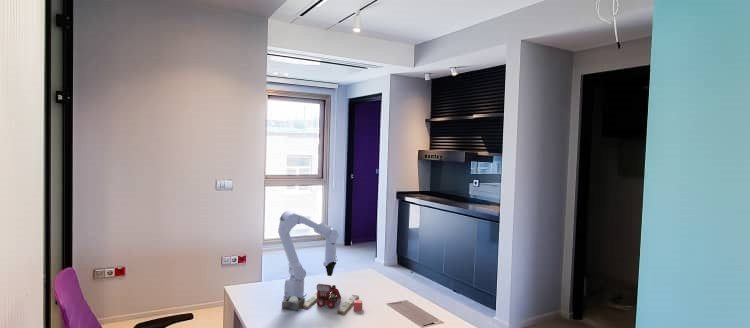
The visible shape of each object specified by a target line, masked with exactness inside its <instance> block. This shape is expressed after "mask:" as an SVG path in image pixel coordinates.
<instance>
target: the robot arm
mask: <svg viewBox="0 0 750 328" xmlns="http://www.w3.org/2000/svg"><path fill="white" fill-rule="evenodd" d="M301 224H303V225H305V226H307V227H309V228H312V229H313V231H314V233H316V234H319V235H320V236H323V237H325V249H324V250H325V253H324V260H323V266H324V267H325V270H326V274H327V275H326V276H327V277H328V276H329V277H332V276H333V273H334V269H335V266H336V265H337V262H338V260H339V259H338V258H337V257H338V255H337V240H338V238H339V236H340V235H339V232H338V230H336V229H335V228H332V226H331V225H326V224H325V222H323V221H321V222H320V221H318V222H315V221H314V220H313V221H312V220H311V219H309V218H307V217H305V216H303V215H301V214H299V213H295V212H292V211H290V210H286V211H284V212H283V213H281V216H280V217H279V225H278V231H277V234H278V236H279V238H280V240H281V244H282V247H283V250H284V252H285V256H286V258H287V261H288V268H289V270H288V273H289V274H290V277H287V278H286V279H285V281H284V288H283V289H284V290H283V291H284V294H283V297H284V298H288V297H289V296H296V297H301V298H305V296H306V295H307V294H308V293H306V292H304V291H305V277H306V275H307V271H306V269H305V268H304V267H303V265H302V264H301V262H300V260H299V257H298V254H297V251H296V249H295V245H294V243H293V240H292V237H291V234H290V233H291V231H292V229H294V227H296V226H297V225H301Z"/></svg>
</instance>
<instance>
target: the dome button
mask: <svg viewBox="0 0 750 328" xmlns="http://www.w3.org/2000/svg"><path fill="white" fill-rule="evenodd" d="M298 301H299V300H298V298H297V297H296V296H292V297H290V299H289V301H288V302H294V303H297V302H298Z"/></svg>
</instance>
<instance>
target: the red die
mask: <svg viewBox="0 0 750 328" xmlns="http://www.w3.org/2000/svg"><path fill="white" fill-rule="evenodd" d="M352 306H353V312H363V299H357V300H354V304H353V305H352Z"/></svg>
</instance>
